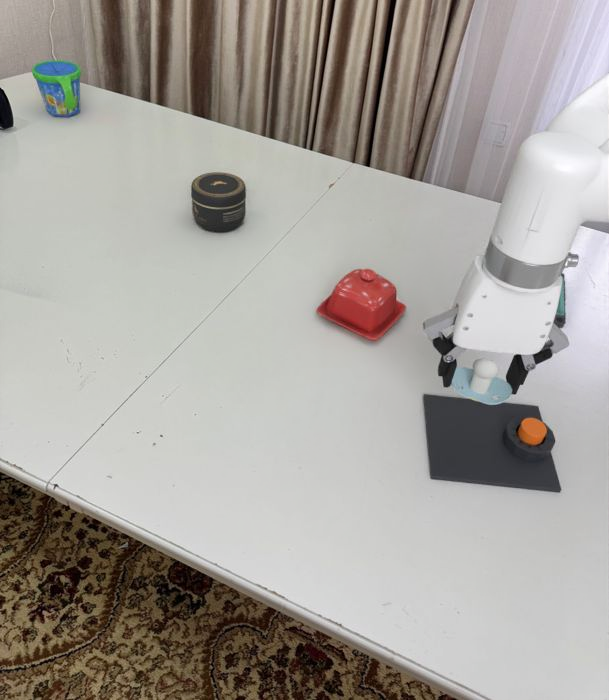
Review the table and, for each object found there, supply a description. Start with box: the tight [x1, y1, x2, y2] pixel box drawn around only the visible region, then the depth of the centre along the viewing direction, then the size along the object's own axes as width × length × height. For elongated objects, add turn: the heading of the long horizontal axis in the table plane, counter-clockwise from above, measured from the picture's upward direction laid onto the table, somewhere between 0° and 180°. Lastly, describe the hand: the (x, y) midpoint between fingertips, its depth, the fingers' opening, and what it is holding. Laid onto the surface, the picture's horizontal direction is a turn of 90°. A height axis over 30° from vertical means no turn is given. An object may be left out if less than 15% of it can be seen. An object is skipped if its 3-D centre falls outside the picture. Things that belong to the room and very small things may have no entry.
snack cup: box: [31, 59, 82, 118], centre depth 146 cm, size 16×10×10 cm
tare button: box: [518, 418, 547, 445], centre depth 80 cm, size 3×3×2 cm
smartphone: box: [553, 272, 567, 329], centre depth 106 cm, size 7×1×15 cm
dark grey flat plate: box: [422, 393, 562, 494], centre depth 81 cm, size 16×14×2 cm
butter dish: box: [316, 268, 407, 341], centre depth 97 cm, size 12×12×8 cm
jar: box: [190, 171, 247, 234], centre depth 115 cm, size 10×10×8 cm
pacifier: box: [450, 357, 513, 405], centre depth 73 cm, size 7×6×6 cm
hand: (477, 382), depth 75 cm, fingers closed on pacifier, 7 cm apart
